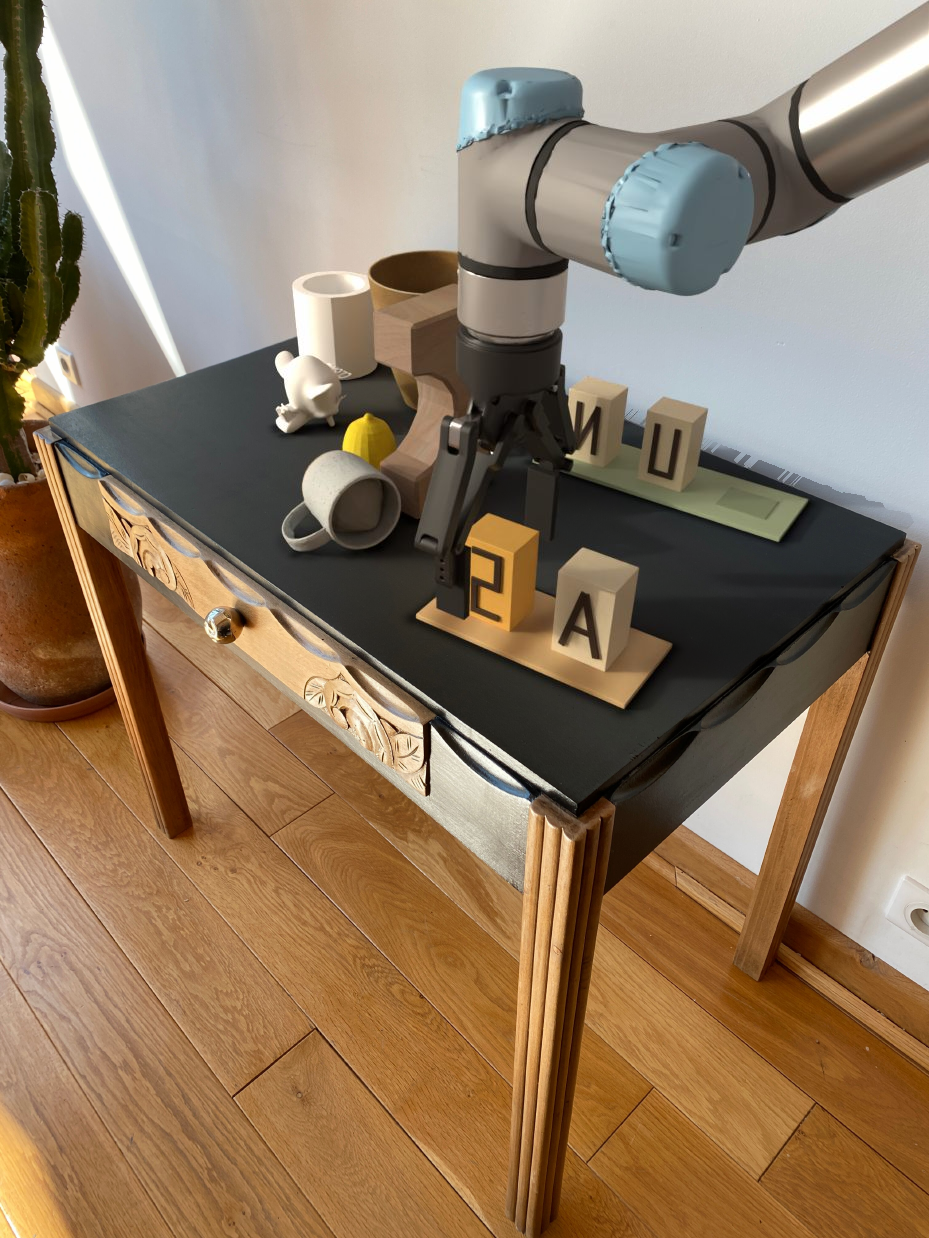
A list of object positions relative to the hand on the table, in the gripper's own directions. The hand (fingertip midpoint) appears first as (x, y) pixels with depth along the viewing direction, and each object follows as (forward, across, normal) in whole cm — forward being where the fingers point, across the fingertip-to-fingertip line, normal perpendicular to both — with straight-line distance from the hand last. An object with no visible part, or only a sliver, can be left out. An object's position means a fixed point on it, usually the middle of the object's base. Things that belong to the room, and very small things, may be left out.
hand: (498, 571), depth 78 cm
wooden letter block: (+4, -30, -6) cm, 31 cm away
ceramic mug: (+5, -2, -19) cm, 20 cm away
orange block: (+4, 0, 0) cm, 4 cm away
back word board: (+5, -30, +3) cm, 30 cm away
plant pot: (+5, -32, -29) cm, 44 cm away
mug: (+5, -35, -46) cm, 58 cm away
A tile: (+4, 0, +9) cm, 10 cm away
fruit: (+5, -12, -23) cm, 27 cm away
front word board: (+4, 0, +5) cm, 6 cm away
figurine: (+5, -19, -37) cm, 42 cm away
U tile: (+4, -30, +3) cm, 30 cm away
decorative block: (+5, -14, -16) cm, 22 cm away
